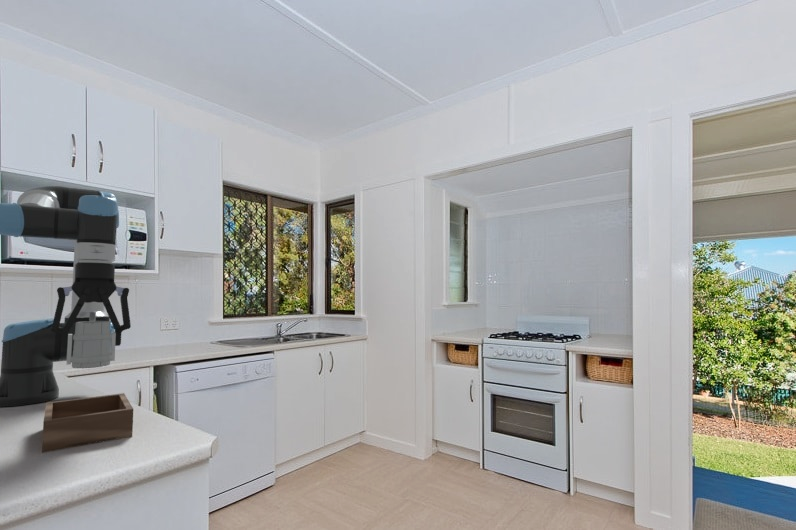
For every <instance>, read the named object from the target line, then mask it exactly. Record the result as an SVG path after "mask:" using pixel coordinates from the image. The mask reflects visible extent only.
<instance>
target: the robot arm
mask: <svg viewBox="0 0 796 530" xmlns="http://www.w3.org/2000/svg"><path fill="white" fill-rule="evenodd" d="M119 212H120V211H119V204H118V200H117V197H116V196H115V194H113V193H111V192H108V191H107V192H105V191H101V190H96V189H95V190H94V189H87V188H85V189H82V188H76V187H75V188H74V187H67V186H65V187H64V186H59V185H54V186H53V185H51V186H50V185H47V186H41V187H40V186H39V187H35V188H31V189H28V190H26V191H24V192H22V193H21V194H20V195H19V196H18V198H17V201H16V203H15V202H13V203H10V202H9V203H7V202H0V235H2V236H8V237H13V238H19V237H20V238H22V237H23V238H36V239H37V238H42V239H55V240H56V239H57V240H68V241H69V240H70V241H71V240H72V241H74V247H73V248H74V249H73V269H72V270H73V271H72V272H73V273H72V284H71V285H70V286H65V287H63V286H60V287H58V288H57V289H56V293H57V297H58V298H57V302H56V303H57V304H56V308H55V313H54V316H53V318H44V319H35V320H26V321H20V322H15V323H11V324H8V325H7V326H6V327H5V328H4V329H3V332H2V333H3V336H2V340H1V343H2V349H1V350H2V351H1V363H0V407H17V406H26V405H34V404H38V403H39V404H40V403H43V402H49V401H51V400H54V399H55V400H56V399H57V398H58V397H59V394H60V387H59V385H58V383H57V382H58V381H57V380H56V377H55V373H54V368H53V367H54V363H55V362H66V366H68V365H72V363H71V362H70V358H71V357H72V356H73V347H74V340H73V335H74V334H75V327H76V323H77V322H84V321H85V322H86V321H89V316H90V312H93V311H95V312H96V321H110V333H111V338H110V354H112V359H111V360H110V362H115V358H116V347H117V346H118V347H119V346H121V344H122V332H124V331H125V330H128V329H130V328H131V326H132V325H131V317H130V311H129V302H128V296H129V293H130V289H129V288H128V287H121V286H117V285H116V283H115V271H116V269H115V268H116V265H115V263H113V262H115V261H116V248H117V246H116V245H117V244H116V243H117V242H116V241H117V229H118V228H119V226H120V217H119V216H120V213H119ZM70 292H71V304H70V305H71V308H70V309H71V310H70V312H68V313H67V315H65V316H64V320H63V321H64V322H61V319H62V315H63V312H64V307H65V302H66V297H68V296H69V295H70ZM115 292H117V295H118V297H119V299H120V307H121V316H122V322H123V324H120V322H119V319H118V316H117V315H116V313H115V310H114V307H113V306H112V303H111V301H110V299H109V298H110V297H111V296H112V295H113V293H115Z"/></svg>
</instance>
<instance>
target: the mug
mask: <svg viewBox="0 0 796 530" xmlns="http://www.w3.org/2000/svg"><path fill="white" fill-rule="evenodd" d="M110 321H111V320H110ZM110 321H96V312H95V311H93V312H90V316H89V321H86V322H85V321H84V322H77V323H76V327H75V334H74V335H73V340H74V347H73V356H72V357H71V358H70V362H71V368H73V369H94V368H101V367H107V366H110V365H111V361H110V360H111V359H112V354H110V338H111V333H110Z"/></svg>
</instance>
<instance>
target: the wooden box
mask: <svg viewBox="0 0 796 530" xmlns="http://www.w3.org/2000/svg"><path fill="white" fill-rule="evenodd" d="M44 409H45V410H44V416H43V426H42V441H41V442H42V444H41V453H47V452H53V451H58V449H59V450H63V449H69V448H75V447H80V446H87V445H92V444H98V443H102V442H103V441H104V442H108V441H109V442H110V441H115V440H121V439H125V438H132V437H133V428H134V427H133V425H134V408H133V406H132V404H131V403H130V401H129V399H128V398H127V395H126V394H125V392H121V393H114V394H105V395H98V396H91V397H81V398H74V399H73V398H72V399H64V400H59V401H58V400H57V401H47V402H46V403H45V408H44Z"/></svg>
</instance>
